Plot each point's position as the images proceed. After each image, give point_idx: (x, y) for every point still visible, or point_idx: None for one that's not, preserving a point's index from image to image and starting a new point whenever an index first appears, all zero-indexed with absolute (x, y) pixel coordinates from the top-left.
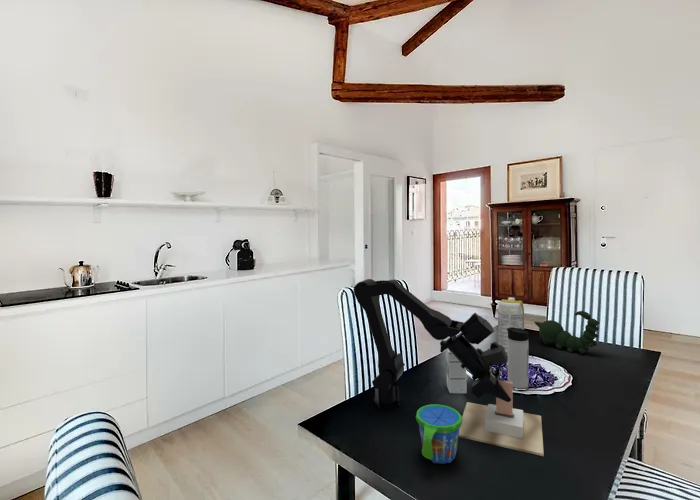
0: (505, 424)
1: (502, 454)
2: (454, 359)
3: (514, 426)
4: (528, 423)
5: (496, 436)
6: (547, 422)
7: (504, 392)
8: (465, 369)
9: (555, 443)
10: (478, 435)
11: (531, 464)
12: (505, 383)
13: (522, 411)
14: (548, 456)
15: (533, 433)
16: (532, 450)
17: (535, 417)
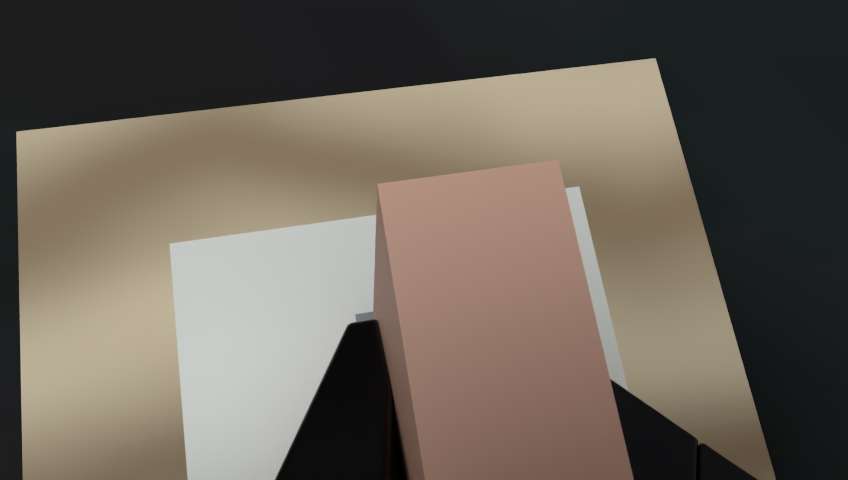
0: (616, 364)
1: (824, 335)
2: None
3: (596, 268)
4: (241, 217)
5: None
6: (94, 85)
7: (654, 410)
8: None
9: (419, 10)
10: None
11: (793, 129)
12: (613, 420)
13: (210, 245)
14: (623, 41)
15: (402, 155)
16: (665, 131)
17: (77, 175)
